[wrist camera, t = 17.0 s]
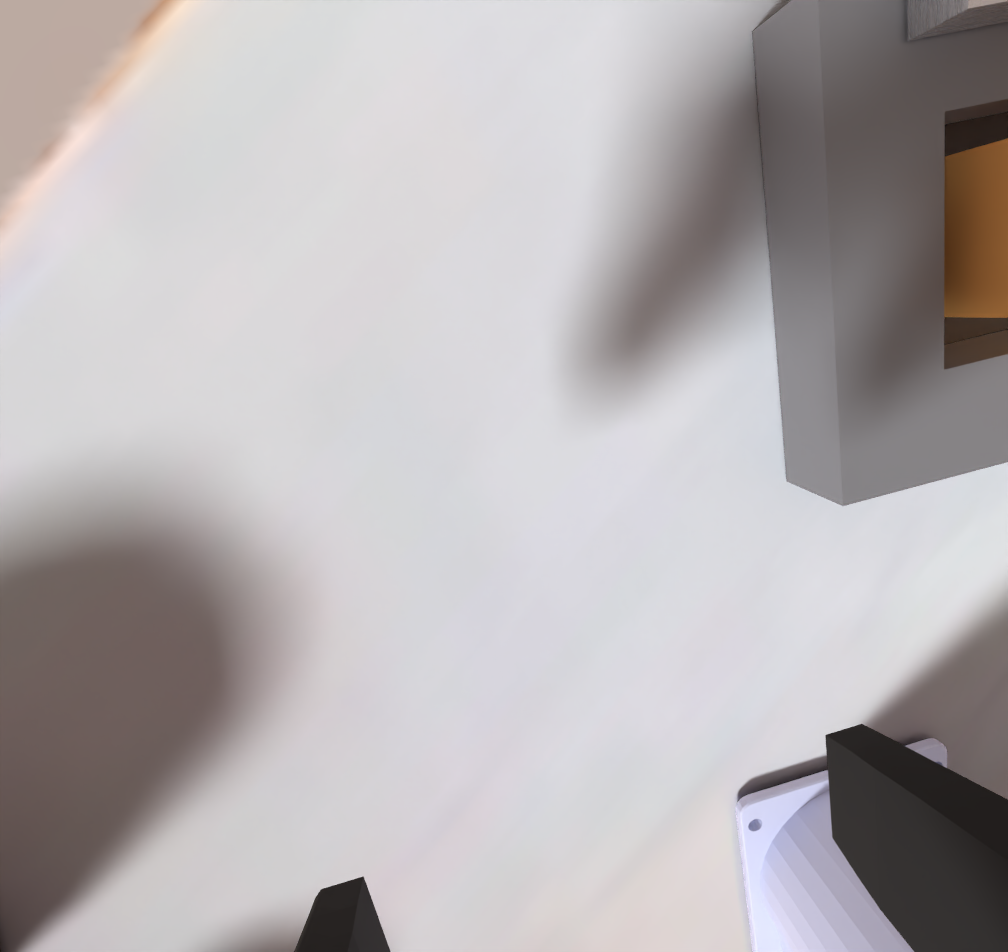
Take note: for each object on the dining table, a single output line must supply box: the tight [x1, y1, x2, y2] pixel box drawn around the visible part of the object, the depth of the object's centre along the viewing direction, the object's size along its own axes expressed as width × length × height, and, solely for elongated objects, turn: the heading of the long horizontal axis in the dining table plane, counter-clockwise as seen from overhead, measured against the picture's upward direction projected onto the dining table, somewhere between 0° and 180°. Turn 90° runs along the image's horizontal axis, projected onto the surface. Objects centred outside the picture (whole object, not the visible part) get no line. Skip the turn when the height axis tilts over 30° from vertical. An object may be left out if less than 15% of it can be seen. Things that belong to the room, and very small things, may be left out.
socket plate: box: [752, 0, 1008, 506], centre depth 16 cm, size 12×12×2 cm
